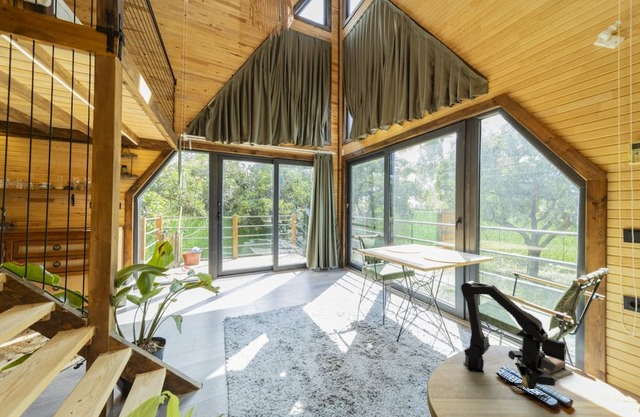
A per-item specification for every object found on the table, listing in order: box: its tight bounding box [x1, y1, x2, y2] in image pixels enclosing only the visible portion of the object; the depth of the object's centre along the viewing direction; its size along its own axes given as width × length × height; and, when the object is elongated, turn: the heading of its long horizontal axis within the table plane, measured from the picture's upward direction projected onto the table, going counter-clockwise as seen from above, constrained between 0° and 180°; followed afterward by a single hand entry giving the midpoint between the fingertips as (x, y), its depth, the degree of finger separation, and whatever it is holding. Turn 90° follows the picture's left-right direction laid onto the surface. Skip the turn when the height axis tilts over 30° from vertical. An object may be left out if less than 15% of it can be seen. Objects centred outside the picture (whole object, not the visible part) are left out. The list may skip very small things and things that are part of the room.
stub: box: [510, 375, 537, 394], centre depth 106 cm, size 12×3×6 cm, turn 84°
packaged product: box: [538, 356, 573, 380], centre depth 122 cm, size 18×5×10 cm
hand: (528, 387), depth 106 cm, fingers closed on stub, 2 cm apart
